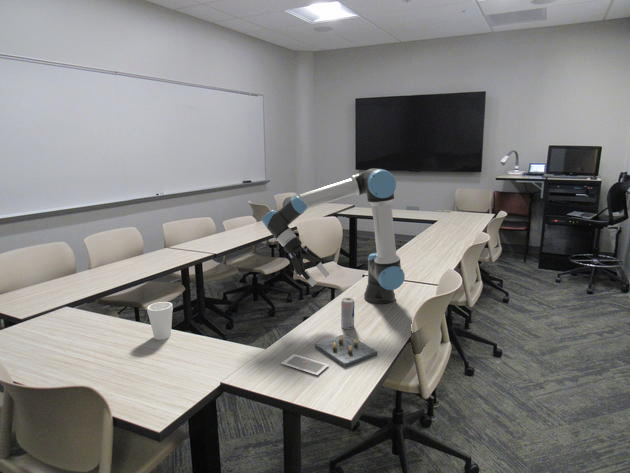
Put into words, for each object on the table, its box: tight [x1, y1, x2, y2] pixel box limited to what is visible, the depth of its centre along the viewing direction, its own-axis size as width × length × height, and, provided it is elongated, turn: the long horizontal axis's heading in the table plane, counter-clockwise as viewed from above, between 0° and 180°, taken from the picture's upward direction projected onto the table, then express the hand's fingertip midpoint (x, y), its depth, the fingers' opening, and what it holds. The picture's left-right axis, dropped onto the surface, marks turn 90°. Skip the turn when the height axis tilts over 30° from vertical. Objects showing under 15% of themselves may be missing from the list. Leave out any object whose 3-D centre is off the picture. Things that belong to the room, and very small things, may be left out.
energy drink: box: [340, 297, 355, 330], centre depth 173 cm, size 5×5×12 cm
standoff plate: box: [314, 333, 378, 368], centre depth 154 cm, size 15×18×4 cm
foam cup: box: [146, 301, 174, 341], centre depth 167 cm, size 10×9×13 cm
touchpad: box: [280, 353, 330, 376], centre depth 144 cm, size 8×15×2 cm, turn 58°
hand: (321, 280), depth 174 cm, fingers open, 13 cm apart
